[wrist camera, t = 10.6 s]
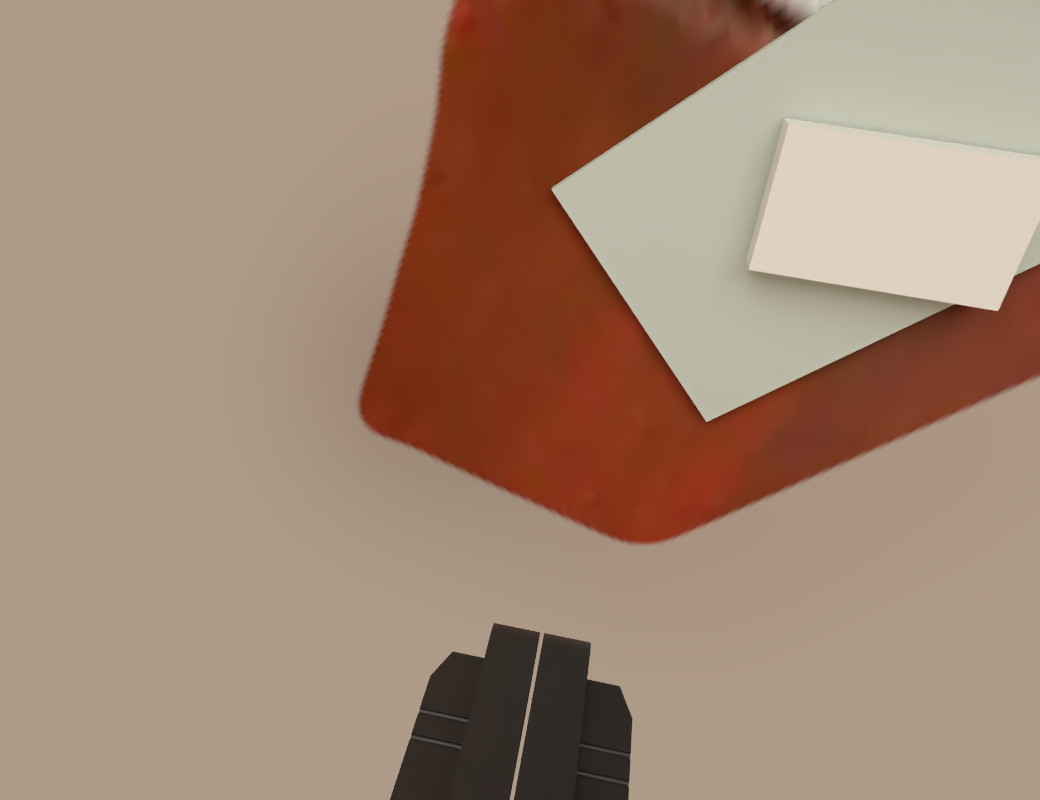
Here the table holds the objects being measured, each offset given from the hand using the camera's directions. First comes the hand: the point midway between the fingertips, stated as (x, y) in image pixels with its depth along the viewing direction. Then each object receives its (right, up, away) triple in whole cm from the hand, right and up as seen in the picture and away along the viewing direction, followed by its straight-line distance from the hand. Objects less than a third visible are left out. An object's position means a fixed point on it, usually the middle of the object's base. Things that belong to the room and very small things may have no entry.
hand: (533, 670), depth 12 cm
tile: (+12, +14, +27) cm, 32 cm away
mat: (+16, +14, +27) cm, 35 cm away
